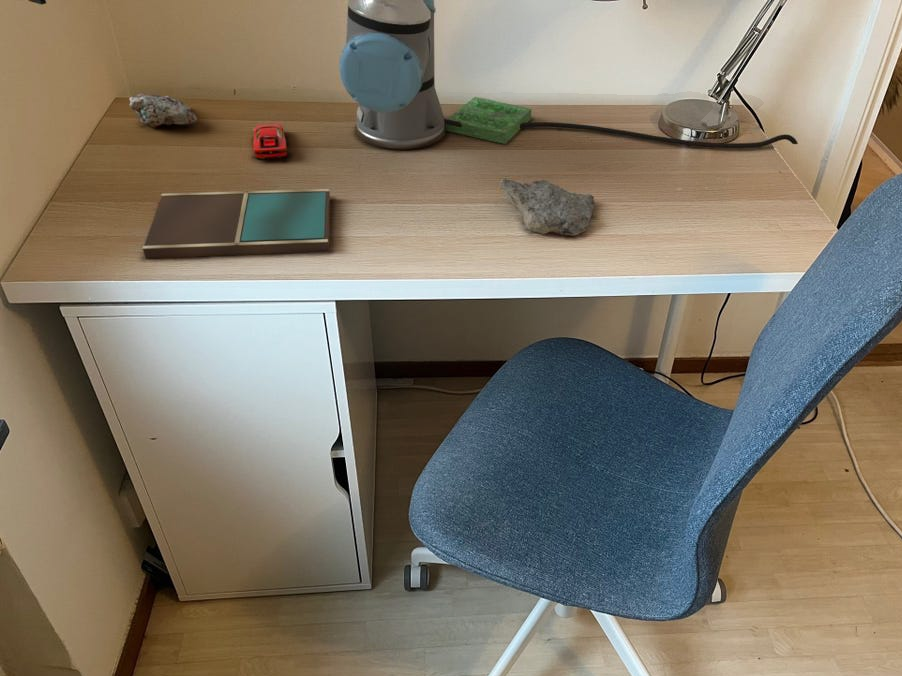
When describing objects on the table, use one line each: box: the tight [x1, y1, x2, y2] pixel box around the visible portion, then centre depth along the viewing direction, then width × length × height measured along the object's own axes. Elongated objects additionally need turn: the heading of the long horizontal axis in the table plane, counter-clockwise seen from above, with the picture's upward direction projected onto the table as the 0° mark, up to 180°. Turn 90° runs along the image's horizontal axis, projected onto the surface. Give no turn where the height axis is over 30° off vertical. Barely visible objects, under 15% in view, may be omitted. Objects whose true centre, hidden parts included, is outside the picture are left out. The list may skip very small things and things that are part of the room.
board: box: [142, 188, 331, 259], centre depth 109 cm, size 24×15×2 cm, turn 97°
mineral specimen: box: [128, 93, 198, 128], centre depth 132 cm, size 10×12×6 cm
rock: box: [499, 178, 596, 237], centre depth 115 cm, size 14×4×15 cm
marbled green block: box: [445, 96, 532, 145], centre depth 138 cm, size 11×12×2 cm
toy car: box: [252, 123, 288, 160], centre depth 128 cm, size 12×5×3 cm, turn 14°
